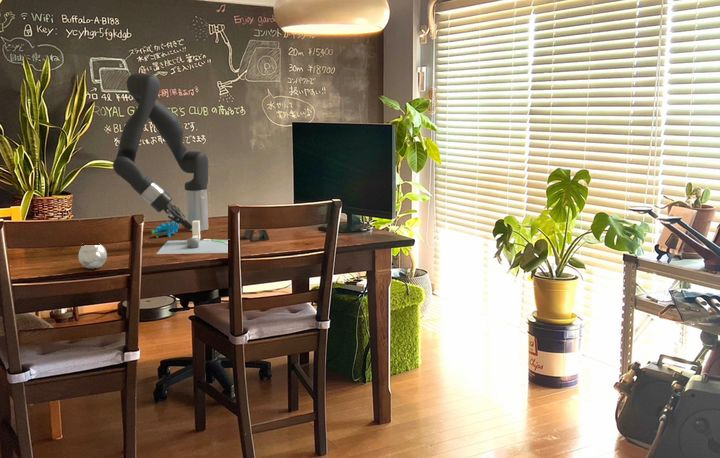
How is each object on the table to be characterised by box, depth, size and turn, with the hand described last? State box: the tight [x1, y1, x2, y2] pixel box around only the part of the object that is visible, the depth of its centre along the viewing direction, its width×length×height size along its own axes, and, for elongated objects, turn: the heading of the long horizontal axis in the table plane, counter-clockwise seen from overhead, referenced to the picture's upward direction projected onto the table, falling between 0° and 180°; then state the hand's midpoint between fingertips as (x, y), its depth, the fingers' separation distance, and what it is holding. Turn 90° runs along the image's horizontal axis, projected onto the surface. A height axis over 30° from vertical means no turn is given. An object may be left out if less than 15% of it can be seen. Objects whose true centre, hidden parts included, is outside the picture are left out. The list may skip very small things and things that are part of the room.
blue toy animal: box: [151, 220, 180, 239], centre depth 284 cm, size 11×6×10 cm
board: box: [156, 238, 229, 255], centre depth 266 cm, size 25×26×2 cm
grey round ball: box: [78, 243, 108, 270], centre depth 235 cm, size 9×10×10 cm
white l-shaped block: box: [186, 220, 201, 248], centre depth 269 cm, size 16×4×8 cm, turn 5°
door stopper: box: [243, 229, 270, 242], centre depth 283 cm, size 9×6×12 cm, turn 117°
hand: (191, 228), depth 273 cm, fingers closed
